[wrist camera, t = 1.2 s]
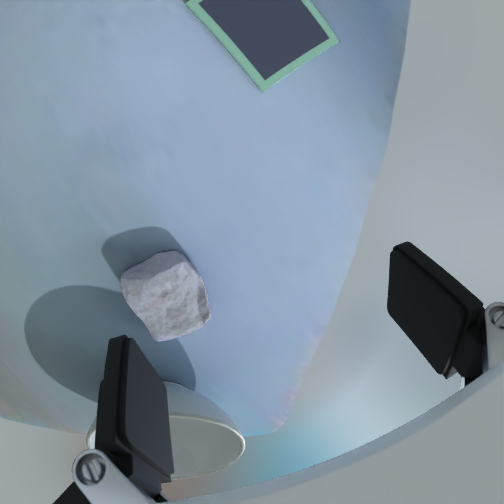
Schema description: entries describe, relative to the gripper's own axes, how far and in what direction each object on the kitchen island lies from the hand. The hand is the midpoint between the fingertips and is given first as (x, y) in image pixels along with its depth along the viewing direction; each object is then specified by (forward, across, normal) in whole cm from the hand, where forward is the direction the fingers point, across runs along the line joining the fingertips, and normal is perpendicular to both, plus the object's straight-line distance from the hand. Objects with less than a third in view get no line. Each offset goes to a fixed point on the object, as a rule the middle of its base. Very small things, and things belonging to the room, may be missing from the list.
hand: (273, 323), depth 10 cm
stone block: (+28, +9, +16) cm, 33 cm away
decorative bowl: (+28, +21, +39) cm, 52 cm away
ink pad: (+28, -11, -15) cm, 33 cm away
